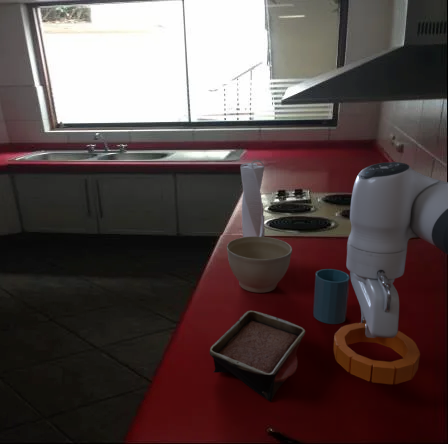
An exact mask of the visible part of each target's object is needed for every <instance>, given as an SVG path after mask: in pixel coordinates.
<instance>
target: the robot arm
mask: <svg viewBox="0 0 448 444" xmlns="http://www.w3.org/2000/svg"><path fill="white" fill-rule="evenodd" d="M349 221H350V224H351V226H350V227H351V229H350V233H349V235H348V238H347V243H346V261H345V262H346V265H345V266H346V268H347V270H348V271H349V277H350V282H351V285H352V288H353V290H354V293H355V296H356V298H357V301H358V303H359V307H360V313H361V318H360V323H366V324H365V329H364V331H365V335H366V337H369V338H376V337H381V338H394V337H395V336H396V335H397V332H398V331H399V318H400V297H399V292H398V291H397V289H396V287H395V285H394V284H393V283H394V282H395V280H396V279H398V278H400V277H402V276H403V275H404V274H405V269H406V268H405V267H406V260H407V252H408V243H409V240H410V239H412V238H420V239H422V240H423V241H425V242H427V243H429V244H431V245H432V246H434V247H436V248H437V249H439V250H440V251H441V252H443V253H444V254H445V255H446V256H448V181H445V180H441V179H438V178H437V179H436V178H434V177H430V176H428V175H425V174H423V173H420V172H418V171H417V170H415V169H413V168H412V167H411V166H410V165H409V164H407V163H405V162H400V161H389V162H380V163H379V162H378V163H374V164H371V165H369V166H367V167H364V168H363V169H362V170H360V172H359V173H358V175H357V176H356V178H355V181H354V184H353V187H352V193H351V200H350V208H349Z"/></svg>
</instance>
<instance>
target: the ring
mask: <svg viewBox="0 0 448 444" xmlns="http://www.w3.org/2000/svg"><path fill="white" fill-rule="evenodd" d="M365 324H366V323H361V322H355V323H350V324H346V325H343V326H341V327H340V328H339V329H338V330H337V331H336V332H335V333H334V336H333V337H334V338H333V349H332V350H333V355H334V359H335V361H336V363H337V364H338V365H340V366H341V367H342V368H343V369H344V370H345V371H346V372H347V373H349V374H350V375H353V376H355V377H357V378H359V379H362V380H365V381H367V382H371V383H373V384H374V383H375V384H384V385H398V384H401V383H404V382H408V381H411V380H413V378H414V377H415V376H416V374H417V372H418V370H419V363H420V358H421V352H420V350H419V348H418V346H417V344H416V342H415V341H414V340H413V339H412V338H411V337H409V336H407V335H406V334H405V333H404V332H401V331H400V330H398V332H397V335H396V336H395V337H394V338H381V337H376V338H369V337H366V335H365V331H364V329H365ZM358 343H375V344H378V345H381V346H384V347H387V348H390V349H391V350H393V351H394V352H395V353H396V354H398V355H399V356H401V358H400V359H396V360H393V361H385V360H375V359H371V358H368V357H366V356H363V355H360V354H358V353H357V352H355V351H354V350H352V349H351V347H349V345H353V344H358Z"/></svg>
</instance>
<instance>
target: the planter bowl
mask: <svg viewBox="0 0 448 444" xmlns="http://www.w3.org/2000/svg"><path fill="white" fill-rule="evenodd" d="M226 252H227V259H228V264H229V268H230V270H231V272H232V274H233V275H234V277H235V278H236V280H237V281H238V284H239V286H240V288H242V289H243V290H245V291H248V292H251V293H256V294H257V293H258V294H263V293H264V294H265V293H270V292H272V291H274V290H275V289H276V288H277V285H278V283H279V282H280V281H282V279H283V278H284V276H285V275H286V274H287V271H288V269H289V266H290V263H291V257H292V253H293V247H292V245H290V244H289V243H288V242H286V241H284V240H281V239H278V238H274V237H270V236H264V237H257V236H252V237H243V236H242V237H238V238H234V239H232V240H231V241H229V242H228V243H227V245H226Z"/></svg>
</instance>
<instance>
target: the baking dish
mask: <svg viewBox="0 0 448 444" xmlns="http://www.w3.org/2000/svg"><path fill="white" fill-rule="evenodd" d="M305 334H306V330H305V328H303V327H302V326H299V325H298V324H295V323H293V322H291V321H288V320H285V319H282V318H279V317H276V316H273V315H270V314H267V313H263V312H260V311H255V310H247V311H246V312H244V314H242V315H241V316H240V318H239V319H238V320H237V321H236V322H235V323H234V324H233V325H232V326H231V327H230V328H229V329H228V330H227V331H226V332H225V333H224V334H223V335H221V336H220V337H219V339H218V340H217V341H215V342H214V343H213V344H212V345H211V346H210V347H209V355H210V356H211V357H212V359H213V364H214V370H213V372H212V373H230V374H232V375H233V376H235V378H237V379H238V380H240V381H241V382H242V383H244V385H246V386H247V387H249V388H250V389H251V390H252V391H254V392H255V393H257V394H258V395H260V396H261V397H263V398H264V399H265V400H266V401H268V402H270V403H272V402H273V401H272V400H273V398H274V396H275V395H276V393H277V391H278V390H279V389H280V387H282V386H283V384H284V383H285V381H286V380H287V379H288V378H291V376H292V375H295V374H296V372H297V368H298V367H299V365H298V356H297V351H298V348H299V346H300V344H301V342H302V340H303V337H304V336H305Z"/></svg>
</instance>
